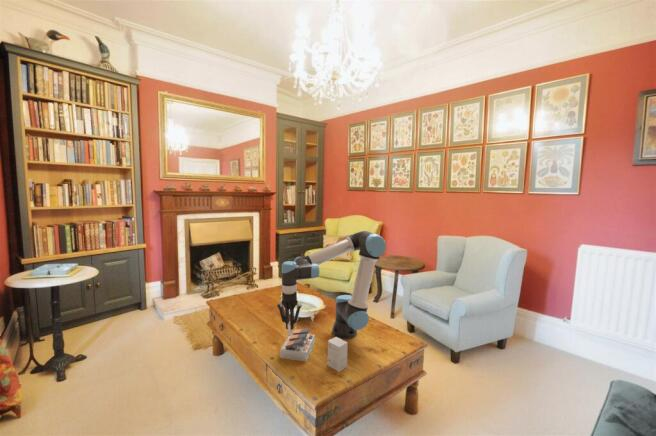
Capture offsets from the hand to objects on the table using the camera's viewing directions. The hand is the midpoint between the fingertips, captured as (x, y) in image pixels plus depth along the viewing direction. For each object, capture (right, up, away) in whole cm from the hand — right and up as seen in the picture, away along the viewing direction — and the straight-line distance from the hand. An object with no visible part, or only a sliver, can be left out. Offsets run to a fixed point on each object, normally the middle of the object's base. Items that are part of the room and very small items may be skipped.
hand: (289, 334), depth 153 cm
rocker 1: (+5, -4, +12) cm, 13 cm away
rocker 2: (+4, -5, +6) cm, 8 cm away
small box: (+25, -13, -7) cm, 29 cm away
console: (+4, -11, +6) cm, 13 cm away
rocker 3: (+3, -5, 0) cm, 6 cm away
